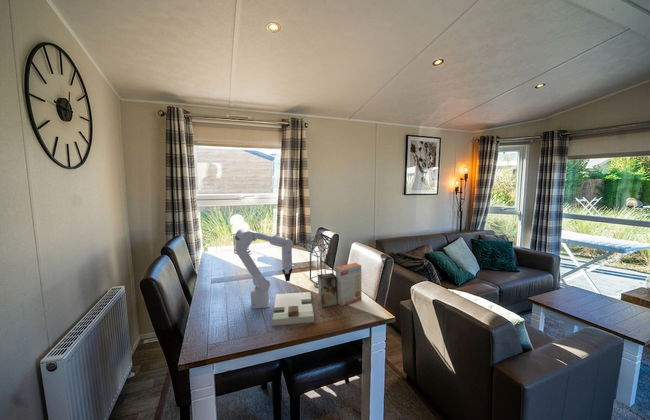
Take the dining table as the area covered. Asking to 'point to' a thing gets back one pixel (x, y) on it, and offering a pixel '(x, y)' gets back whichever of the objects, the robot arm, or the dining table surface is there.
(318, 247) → the geometric lantern
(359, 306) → the dining table surface
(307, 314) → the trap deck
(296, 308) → the walnut block
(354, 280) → the cracker box
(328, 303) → the coffee box
